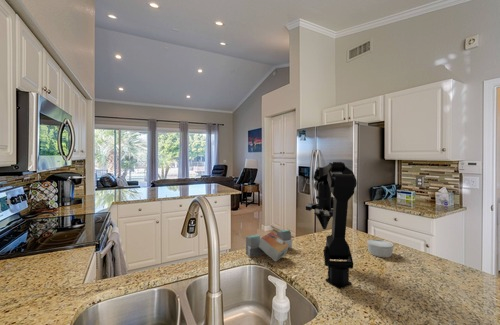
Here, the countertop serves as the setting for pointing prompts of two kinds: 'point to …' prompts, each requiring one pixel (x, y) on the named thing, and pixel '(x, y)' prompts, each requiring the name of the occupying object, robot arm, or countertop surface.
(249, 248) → the rail
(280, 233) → the block
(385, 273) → the countertop surface
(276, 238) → the small box
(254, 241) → the block
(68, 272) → the countertop surface
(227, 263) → the countertop surface
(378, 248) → the ramekin
